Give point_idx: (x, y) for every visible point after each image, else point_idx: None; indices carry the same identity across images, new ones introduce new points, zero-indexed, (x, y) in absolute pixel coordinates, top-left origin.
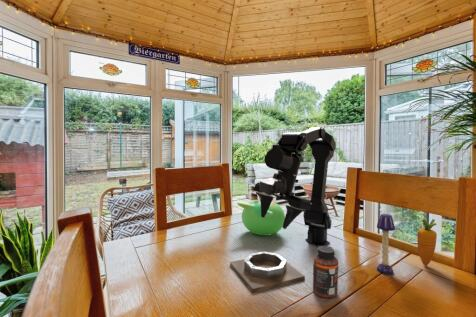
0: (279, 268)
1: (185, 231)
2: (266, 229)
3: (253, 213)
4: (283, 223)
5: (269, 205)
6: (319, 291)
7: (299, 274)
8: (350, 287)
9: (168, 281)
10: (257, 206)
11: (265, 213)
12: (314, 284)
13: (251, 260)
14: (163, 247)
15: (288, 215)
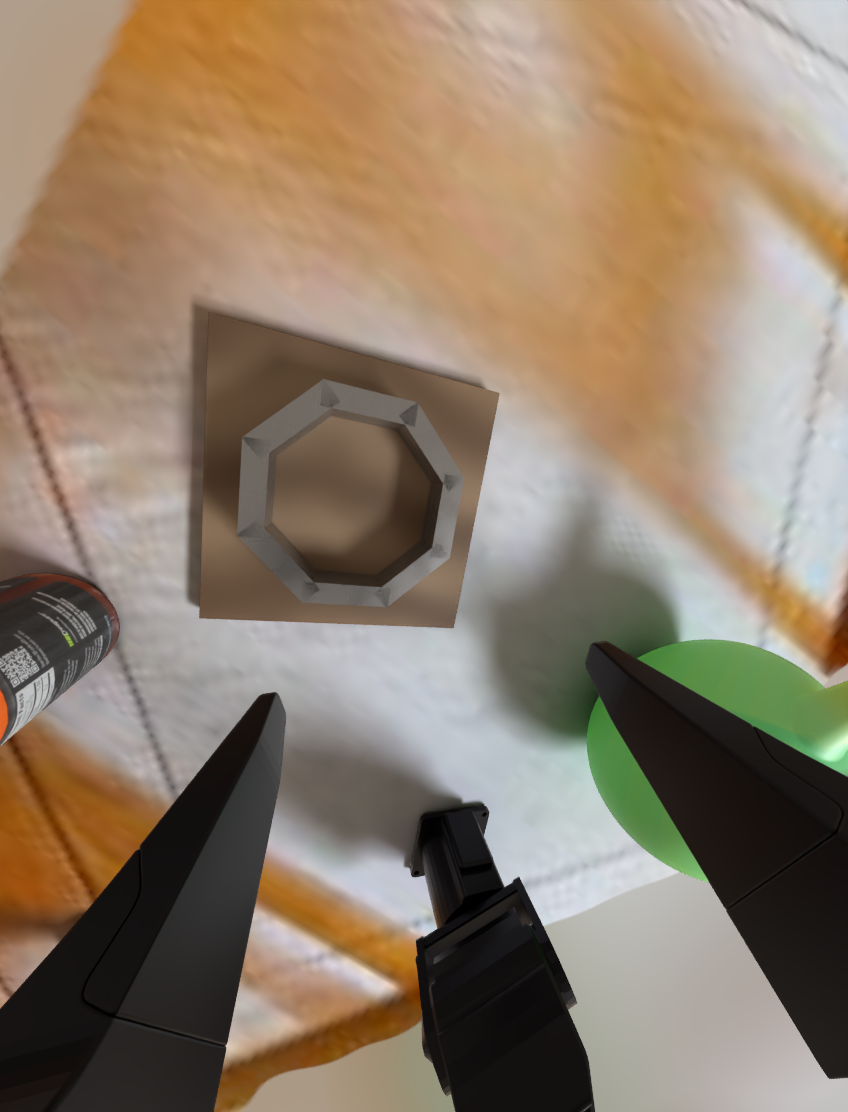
0: (238, 513)
1: (843, 413)
2: None
3: (753, 706)
4: (255, 736)
5: (690, 839)
6: (4, 581)
7: (224, 605)
8: (48, 740)
9: (531, 4)
10: None
11: (612, 705)
12: (35, 587)
13: (425, 463)
14: (799, 223)
15: (86, 936)
